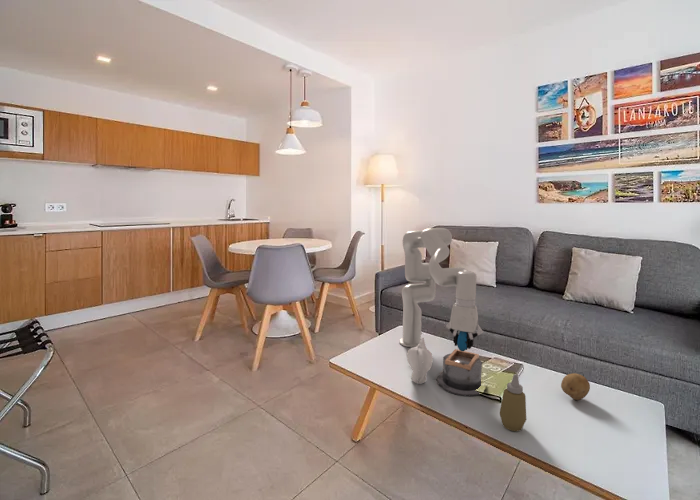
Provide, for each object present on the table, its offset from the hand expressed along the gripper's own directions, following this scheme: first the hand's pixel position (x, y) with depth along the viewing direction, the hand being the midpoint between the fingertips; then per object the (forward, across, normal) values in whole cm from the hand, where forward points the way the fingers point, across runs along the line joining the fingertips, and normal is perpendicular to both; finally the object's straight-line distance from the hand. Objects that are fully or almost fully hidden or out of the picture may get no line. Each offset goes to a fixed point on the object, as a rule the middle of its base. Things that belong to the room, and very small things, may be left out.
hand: (463, 345), depth 144 cm
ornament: (+2, 0, 0) cm, 2 cm away
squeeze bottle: (+17, +22, -19) cm, 33 cm away
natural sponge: (+17, +39, +12) cm, 44 cm away
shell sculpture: (+17, -15, -8) cm, 24 cm away
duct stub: (+16, 0, 0) cm, 16 cm away
